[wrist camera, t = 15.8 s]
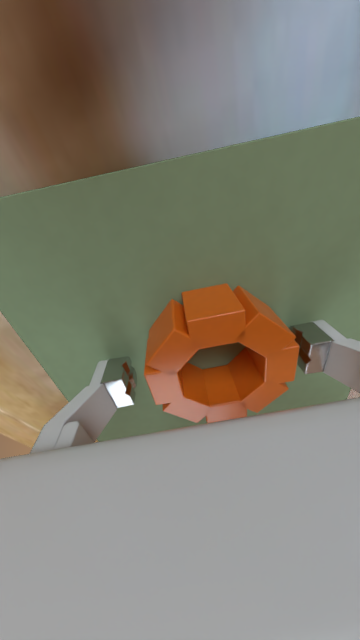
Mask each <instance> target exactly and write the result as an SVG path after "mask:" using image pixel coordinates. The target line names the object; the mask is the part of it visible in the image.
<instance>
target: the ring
mask: <svg viewBox="0 0 360 640" xmlns="http://www.w3.org/2000/svg"><path fill="white" fill-rule="evenodd" d="M181 294H182V300H183V305H182V304H180V303H179V302H177V301H175V300H173V299H171V300H170V302H169V303H168V304H167V306H166V307H165V309H164V310H163V311H162V313H161V314H160V316H159V317H158V318H157V320H156V321H155V322H154V324H153V325H152V327H151V328H150V329H149V337H148V340H147V349H146V359H145V368H144V377H145V379H146V382H147V384H148V387H149V389H150V392H151V394H152V397H153V399H154V402H155V404H156V405H161V404H163V411H164V412H167V413H170V414H172V415H175V416H178V417H181V418H184V419H187V420H190V421H192V422H195V423H198V422H199V421H200V420H202V419H203V418H204V417H206V422H207V423H212V422H218V421H224V420H230V419H236V418H242V417H246V416H247V409H249V410H251V411H253V412H256V413H258V412H259V411H260V410H262V409H263V408H264V407H266V406H267V405H268V404H270V403H271V402H272V401H274V400H275V399H276V398H278V397H279V396H280V395H282V394H283V393H284V392H286V391H287V390H288V389H289V388H288V387H287V385H286V383H285V382H291V381H294V379H295V373H296V367H297V361H298V355H299V348H300V346H299V345H298V343H297V342H296V341H295V340H294V339H295V338H296V336H295V335H294V334H293V333H292V332H291V330H290V329H289V328H288V327H287V326H286V325H285V324H284V323H283V321H282V320H281V319H280V318H279V317H278V316H277V315H276V314H275V313H274V311H273V310H272V309H271V308H270V307H269V306H268V305H266V304H265V303H263V302H262V301H261V300H259V299H258V298H256V297H255V296H253V295H252V294H251V293H249V292H248V291H246V290H245V289H243V288H242V287H241V286H237V287H236V288H235V289H234V290H233V291H232V290H231V288H230V287H229V285H228V284H227V283H225V284H220V285H215V286H210V287H205V288H200V289H195V290H190V291H185V292H182V293H181ZM237 342H239V343H241V344H243V345H244V346H246V347H245V348H244V349H243V350H242V351H241V352H240V353H239V354H238V355H237V356H236V357H235V358H234V359H233V360H232V361H231V362H229V363H228V364H227V365H223V366H217V367H212V368H206V369H201V368H199V367H197V366H194V365H192V364H190V363H188V361H189V360H190V359H191V358H192V357H193V356H194V355H195V353H196V352H197V351H198V350H199V349H205V348H210V347H216V346H221V345H226V344H232V343H237Z"/></svg>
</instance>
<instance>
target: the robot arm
mask: <svg viewBox="0 0 360 640" xmlns="http://www.w3.org/2000/svg"><path fill="white" fill-rule="evenodd" d="M289 329H290V330H291V332H292V333H293V334H294V335H295V336H296V338H295V339H294V340H295V341H296V342H297V343H298V345H299V346H300V348H299V355H298V363H297V365H298V366H299V367H300V368H301V370H302V371H303V372H304V374H311V373H317V372H324V373H325V374H327V375H329V376H331V377H332V378H334V379H336V380H338V381H339V382H341V383H343V384H345V385H346V386H348V387H350V388H352V389H353V390H355V391H357V392H359V393H360V341H357V340H354V339H351V338H349V339H346V338H345V337H344V336H343V335H342V334H340V333H339V332H338V331H337V330H335V329H334V328H333V327H332V326H330V325H329V324H328V323H327V322H325V321H324V320H317V321H312V322H308V323H303V324H298V325H293V326H290V327H289ZM131 363H132V361H131V359H130V357H128V356H126V357H120V358H114V359H109V360H103V361H99V362H98V364H97V366H96V369H95V372H94V374H93V377H92V379H91V382H90V385H89V386H86V387H85V388H84V389H83V390H82V391H81V392H80V393H79V394H77V395H76V396H75V397H74V398H73V399H72V400H71V401H70V402H69V403H68V404H67V405H66V406H65V407H63V408H62V409H61V410H60V411H59V412H58V413H57V414H56V415H55V416H54V417H53V418H52V419H51V420H49V421H48V422H47V423H46V424H45V425H44V426H43V428H42V430H41V432H40V434H39V436H38V438H37V440H36V442H35V444H34V446H33V448H32V450H31V452H30V454H26V455H20V456H14V457H8V458H2V459H0V640H360V397H358V398H353V399H347V400H341V401H335V402H329V403H323V404H317V405H312V406H306V407H300V408H294V409H288V410H282V411H277V412H271V413H265V414H259V415H253V416H247V417H242V418H236V419H230V420H224V421H218V422H212V423H206V424H201V425H195V426H189V427H183V428H177V429H171V430H166V431H160V432H154V433H148V434H142V435H136V436H130V437H125V438H119V439H113V440H107V441H101V442H95V441H96V439H97V438H98V436H99V435H100V434H101V432H102V431H103V429H104V428H105V426H106V425H107V423H108V422H109V421H110V419H111V418H112V416H113V415H114V413H115V412H116V410H117V408H120V407H125V406H130V405H134V401H135V394H136V393H135V391H134V389H135V387H136V386H137V374H136V371H135V368H134V367H132V366H131ZM94 442H95V443H94Z"/></svg>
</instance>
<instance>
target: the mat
mask: <svg viewBox="0 0 360 640" xmlns="http://www.w3.org/2000/svg"><path fill="white" fill-rule="evenodd" d="M225 283H227V284H228V285H229V287H230V288H231V290H232V291H233V290H234V289H235V288H236V287H237V286H241V287H242V288H243V289H245V290H246V291H248V292H249V293H251V294H252V295H253V296H255V297H256V298H258V299H259V300H261V301H262V302H263V303H265V304H266V305H268V306H269V307H270V308H271V309H272V310H273V311H274V313H275V314H276V315H277V316H278V317H279V318H280V319H281V320H282V321H283V323H284V324H285V325H286V326H287V327H288V328H289V327H290V326H293V325H298V324H303V323H308V322H312V321H317V320H324V321H325V322H327V323H328V324H329V325H330V326H332V327H333V328H334V329H335V330H337V331H338V332H339V333H340V334H342V335H343V336H344V337H345V338H346V339H349V338H351V339H354V340H357V341H360V117H355V118H351V119H347V120H342V121H338V122H333V123H329V124H324V125H320V126H315V127H311V128H307V129H302V130H298V131H293V132H289V133H284V134H280V135H275V136H271V137H266V138H262V139H258V140H253V141H249V142H244V143H240V144H235V145H231V146H226V147H222V148H218V149H213V150H209V151H204V152H200V153H195V154H191V155H186V156H182V157H177V158H173V159H169V160H164V161H160V162H155V163H151V164H146V165H142V166H137V167H133V168H129V169H124V170H120V171H115V172H111V173H106V174H102V175H97V176H93V177H88V178H84V179H80V180H75V181H71V182H66V183H62V184H57V185H53V186H48V187H44V188H40V189H35V190H31V191H26V192H22V193H17V194H13V195H8V196H4V197H0V311H1V313H2V314H3V315H4V317H5V318H6V319H7V321H8V322H9V323H10V325H11V326H12V327H13V328H14V330H15V331H16V332H17V334H18V335H19V336H20V338H21V339H22V340H23V342H24V343H25V344H26V346H27V347H28V348H29V350H30V351H31V352H32V354H33V355H34V356H35V358H36V359H37V360H38V362H39V363H40V364H41V366H42V367H43V368H44V370H45V371H46V372H47V374H48V375H49V376H50V378H51V379H52V380H53V382H54V383H55V384H56V386H57V387H58V388H59V390H60V391H61V392H62V394H63V395H64V396H65V398H66V399H67V400H68V402H70V401H71V400H72V399H73V398H74V397H75V396H76V395H77V394H79V393H80V392H81V391H82V390H83V389H84V388H85V387H86V386H89V385H90V382H91V379H92V377H93V374H94V372H95V369H96V366H97V364H98V362H99V361H103V360H109V359H114V358H120V357H126V356H128V357H130V359H131V361H132V363H131V366H132V367H134V368H135V371H136V374H137V386H136V387H135V389H134V391H135V393H136V394H135V401H134V405H130V406H125V407H120V408H117V410H116V412H115V413H114V415H113V416H112V418H111V419H110V421H109V422H108V423H107V425H106V426H105V428H104V429H103V431H102V432H101V434H100V435H99V436H98V438H97V440H98V441H99V442H101V441H107V440H113V439H119V438H125V437H130V436H136V435H142V434H148V433H154V432H160V431H166V430H171V429H177V428H183V427H189V426H195V425H201V424H206V423H207V422H206V417H204V418H203V419H202V420H200V421H199V422H198V423H195V422H192V421H190V420H187V419H184V418H181V417H178V416H175V415H172V414H170V413H167V412H164V411H163V404H161V405H156V404H155V402H154V399H153V397H152V394H151V392H150V389H149V387H148V384H147V382H146V379H145V377H144V368H145V359H146V349H147V340H148V337H149V329H150V328H151V327H152V325H153V324H154V322H155V321H156V320H157V318H158V317H159V316H160V314H161V313H162V311H163V310H164V309H165V307H166V306H167V304H168V303H169V302H170V300H171V299H173V300H175V301H177V302H179V303H180V304H182V305H183V300H182V294H181V293H182V292H185V291H190V290H195V289H200V288H205V287H210V286H215V285H220V284H225ZM245 347H246V346H244V345H243V344H241V343H239V342H237V343H232V344H226V345H221V346H216V347H210V348H205V349H199V350H198V351H197V352H196V353H195V355H194V356H193V357H192V358H191V359H190V360H189V361H188V363H190V364H192V365H194V366H197V367H199V368H201V369H206V368H212V367H217V366H223V365H227V364H228V363H229V362H231V361H232V360H233V359H234V358H235V357H236V356H237V355H238V354H239V353H240V352H241V351H242V350H243V349H244V348H245ZM297 363H298V361H297ZM285 383H286V385H287V387H288V388H289V389H288V390H287V391H286V392H284V393H283V394H282V395H280V396H279V397H278V398H276V399H275V400H274V401H272V402H271V403H270V404H268V405H267V406H266V407H264V408H263V409H262V410H260V411H259V412H258V413H256V412H253V411H251V410H249V409H247V416H253V415H259V414H265V413H271V412H277V411H282V410H288V409H294V408H300V407H306V406H312V405H317V404H323V403H329V402H335V401H341V400H347V397H348V395H349V392H350V389H351V388H350V387H348V386H346V385H345V384H343V383H341V382H339V381H338V380H336V379H334V378H332V377H331V376H329V375H327V374H325V373H324V372H317V373H311V374H304V372H303V371H302V370H301V368H300V367H299V366H298V365H297V367H296V373H295V379H294V381H291V382H285ZM247 416H246V417H247Z"/></svg>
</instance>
